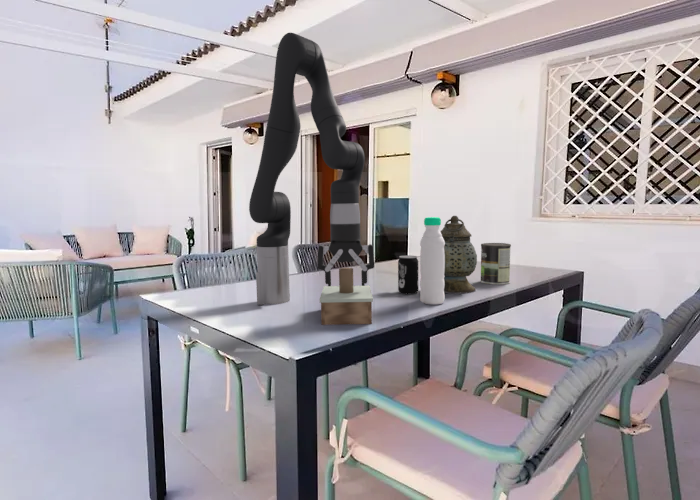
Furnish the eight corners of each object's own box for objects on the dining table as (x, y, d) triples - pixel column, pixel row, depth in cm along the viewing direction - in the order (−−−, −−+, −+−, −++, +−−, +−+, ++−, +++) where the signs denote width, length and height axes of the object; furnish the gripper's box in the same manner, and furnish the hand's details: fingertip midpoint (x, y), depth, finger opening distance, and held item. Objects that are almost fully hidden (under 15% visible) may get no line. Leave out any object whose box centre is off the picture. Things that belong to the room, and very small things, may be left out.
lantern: (485, 290, 141) (486, 215, 139) (456, 296, 133) (456, 216, 131) (453, 284, 153) (453, 214, 150) (424, 289, 145) (424, 215, 142)
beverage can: (417, 294, 136) (417, 257, 135) (397, 294, 138) (397, 257, 136) (418, 290, 143) (418, 255, 142) (399, 290, 144) (399, 255, 143)
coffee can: (482, 284, 152) (483, 245, 150) (478, 279, 162) (478, 242, 160) (513, 285, 150) (514, 245, 149) (506, 280, 160) (507, 242, 159)
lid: (319, 306, 101) (318, 274, 100) (324, 292, 117) (323, 264, 116) (372, 305, 101) (372, 273, 100) (369, 291, 117) (369, 263, 116)
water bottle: (439, 306, 120) (439, 217, 118) (416, 303, 124) (416, 217, 122) (447, 301, 126) (448, 216, 124) (425, 298, 130) (425, 217, 128)
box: (321, 327, 101) (320, 302, 101) (325, 310, 117) (324, 289, 117) (371, 326, 101) (371, 301, 101) (368, 310, 117) (368, 288, 117)
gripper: (315, 223, 103) (317, 289, 105) (374, 222, 103) (375, 288, 105) (318, 222, 111) (319, 283, 112) (372, 221, 111) (373, 282, 112)
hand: (346, 285), depth 109 cm, fingers open, 8 cm apart
